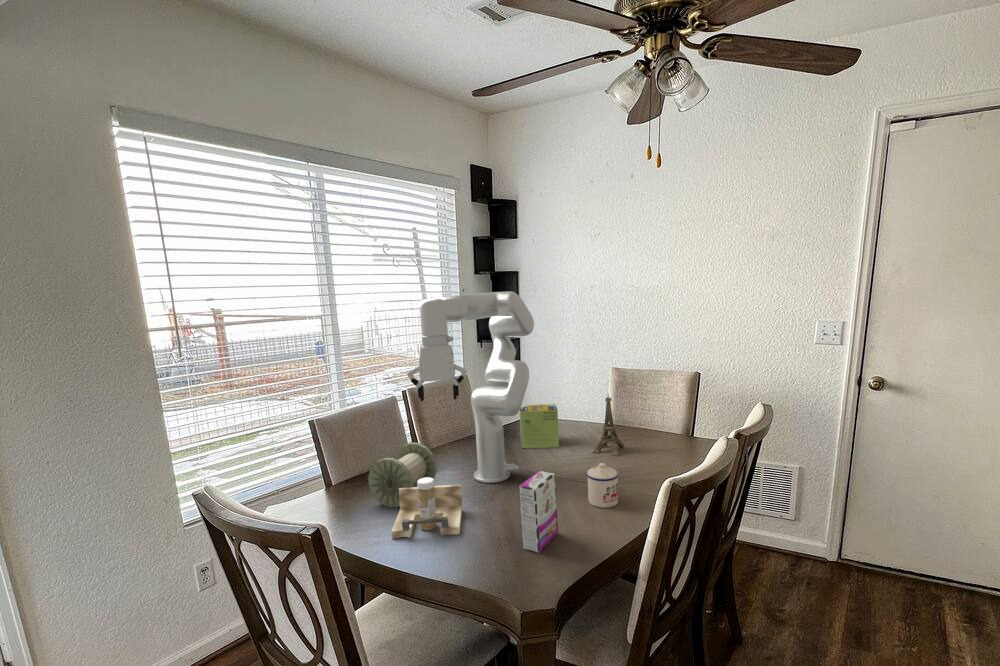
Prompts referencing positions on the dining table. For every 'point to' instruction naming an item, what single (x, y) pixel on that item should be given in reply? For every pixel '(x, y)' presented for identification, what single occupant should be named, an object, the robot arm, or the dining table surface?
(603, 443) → the eiffel tower
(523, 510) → the candy bar box
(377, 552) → the dining table surface
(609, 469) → the teacup with lid
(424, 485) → the sprinkles bottle
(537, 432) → the protein box
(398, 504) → the spool
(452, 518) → the wooden stand
